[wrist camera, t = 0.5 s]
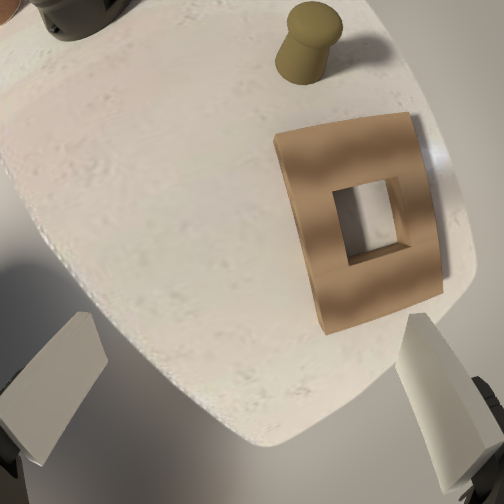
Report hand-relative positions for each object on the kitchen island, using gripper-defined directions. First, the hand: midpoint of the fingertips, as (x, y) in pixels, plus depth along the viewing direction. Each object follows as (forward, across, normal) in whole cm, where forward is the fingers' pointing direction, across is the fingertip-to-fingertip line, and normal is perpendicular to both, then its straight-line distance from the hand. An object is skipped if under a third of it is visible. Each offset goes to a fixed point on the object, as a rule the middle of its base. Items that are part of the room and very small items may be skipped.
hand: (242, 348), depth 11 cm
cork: (+27, +5, +18) cm, 33 cm away
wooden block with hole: (+24, +12, -1) cm, 27 cm away
